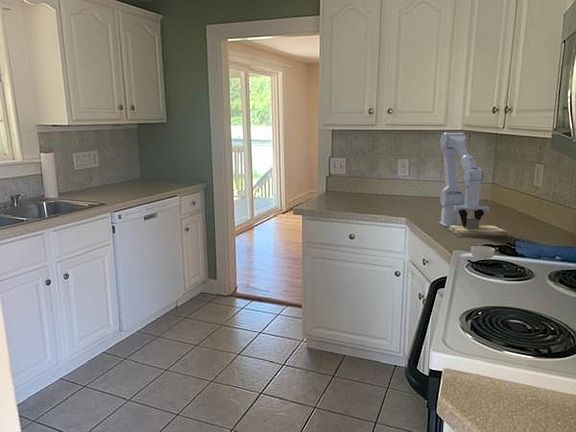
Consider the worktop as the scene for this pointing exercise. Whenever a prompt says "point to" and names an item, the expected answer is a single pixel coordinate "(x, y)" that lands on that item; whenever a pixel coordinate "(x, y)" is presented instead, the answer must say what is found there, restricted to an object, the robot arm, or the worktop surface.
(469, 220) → the block
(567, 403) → the worktop surface
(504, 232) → the pine board
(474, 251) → the teacup
